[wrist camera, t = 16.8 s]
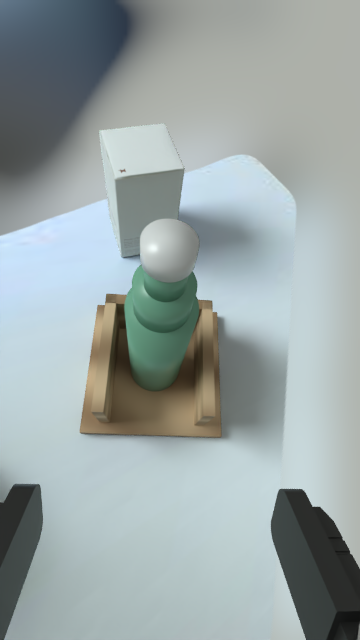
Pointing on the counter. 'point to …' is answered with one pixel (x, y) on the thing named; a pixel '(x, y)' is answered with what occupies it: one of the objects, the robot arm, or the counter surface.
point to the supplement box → (140, 180)
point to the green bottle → (162, 303)
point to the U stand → (151, 406)
